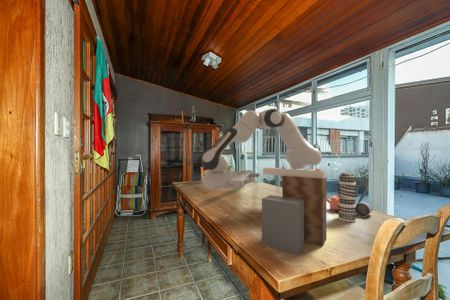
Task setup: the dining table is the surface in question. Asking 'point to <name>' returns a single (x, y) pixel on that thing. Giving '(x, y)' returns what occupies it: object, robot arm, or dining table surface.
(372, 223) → the dining table surface
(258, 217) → the dining table surface
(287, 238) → the dark grey block
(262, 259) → the dining table surface
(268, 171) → the power strip
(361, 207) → the ceramic mug
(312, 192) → the walnut post
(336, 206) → the teapot
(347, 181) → the decorative candle
